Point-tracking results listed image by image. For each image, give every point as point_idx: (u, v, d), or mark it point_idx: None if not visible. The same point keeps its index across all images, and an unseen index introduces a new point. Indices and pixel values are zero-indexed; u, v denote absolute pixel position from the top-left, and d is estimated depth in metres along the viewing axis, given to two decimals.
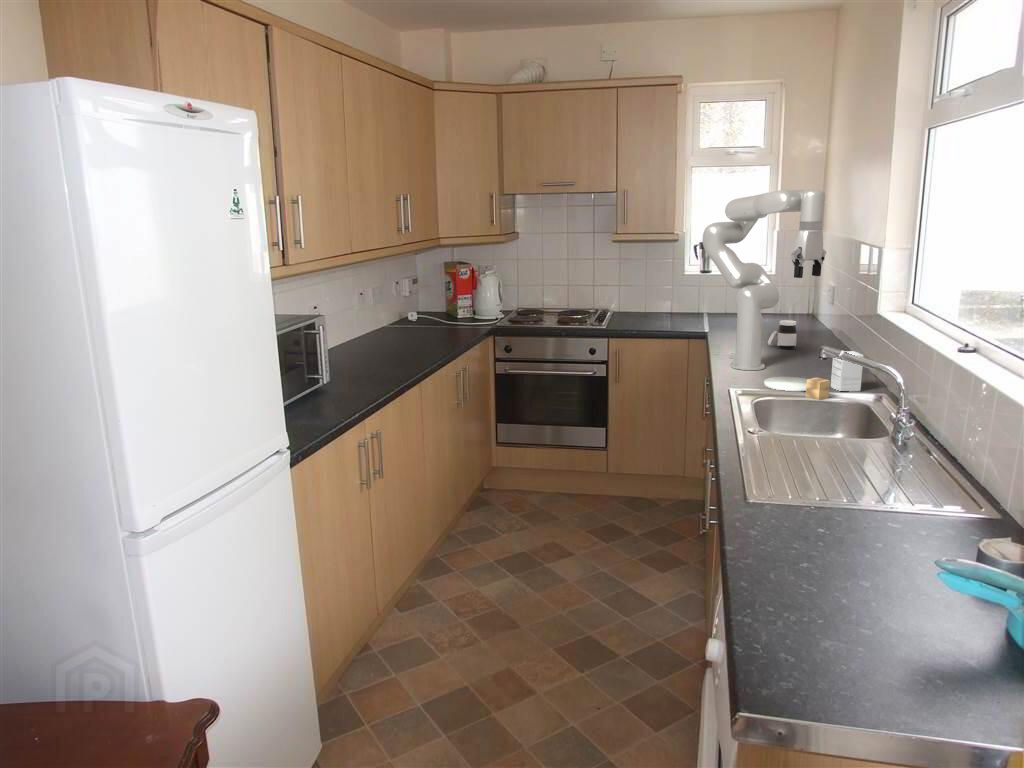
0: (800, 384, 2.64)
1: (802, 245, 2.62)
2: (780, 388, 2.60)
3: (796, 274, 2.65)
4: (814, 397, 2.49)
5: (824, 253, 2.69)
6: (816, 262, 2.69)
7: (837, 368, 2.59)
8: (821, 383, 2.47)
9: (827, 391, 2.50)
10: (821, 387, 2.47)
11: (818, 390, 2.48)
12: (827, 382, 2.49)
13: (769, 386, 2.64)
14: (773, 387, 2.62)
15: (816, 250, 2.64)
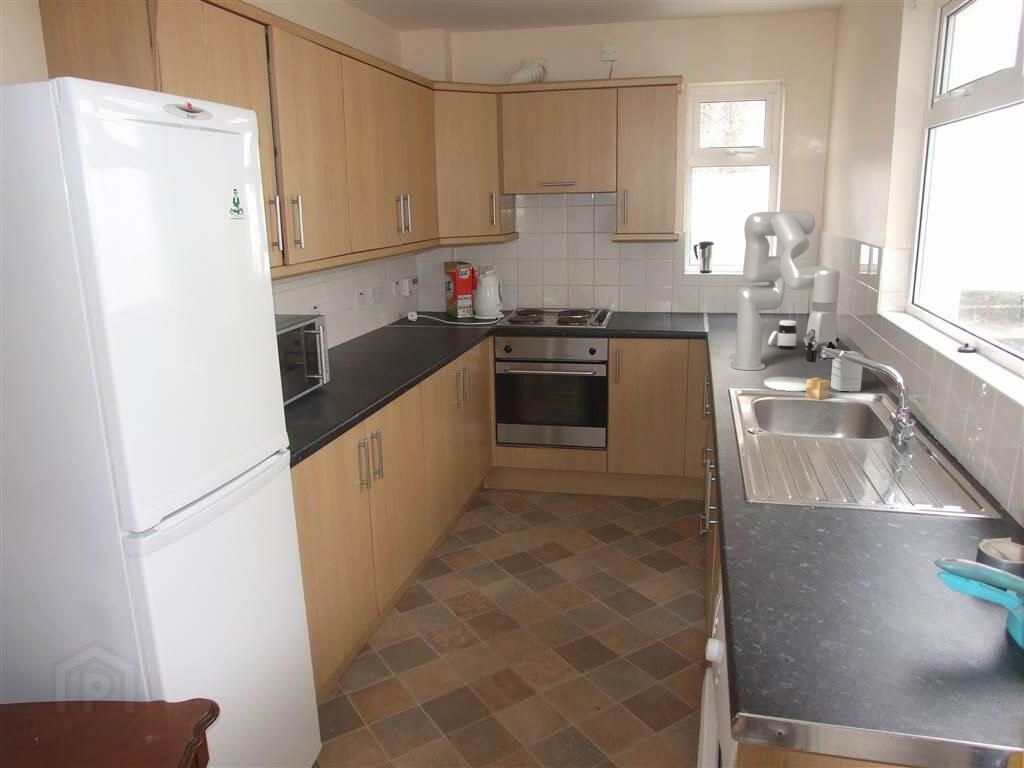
0: (800, 384, 2.64)
1: (815, 328, 2.42)
2: (780, 388, 2.60)
3: (809, 358, 2.45)
4: (814, 397, 2.49)
5: (839, 334, 2.50)
6: (830, 344, 2.50)
7: (837, 368, 2.59)
8: (821, 383, 2.47)
9: (827, 391, 2.50)
10: (821, 387, 2.47)
11: (818, 390, 2.48)
12: (827, 382, 2.49)
13: (769, 386, 2.64)
14: (773, 387, 2.62)
15: (830, 332, 2.44)
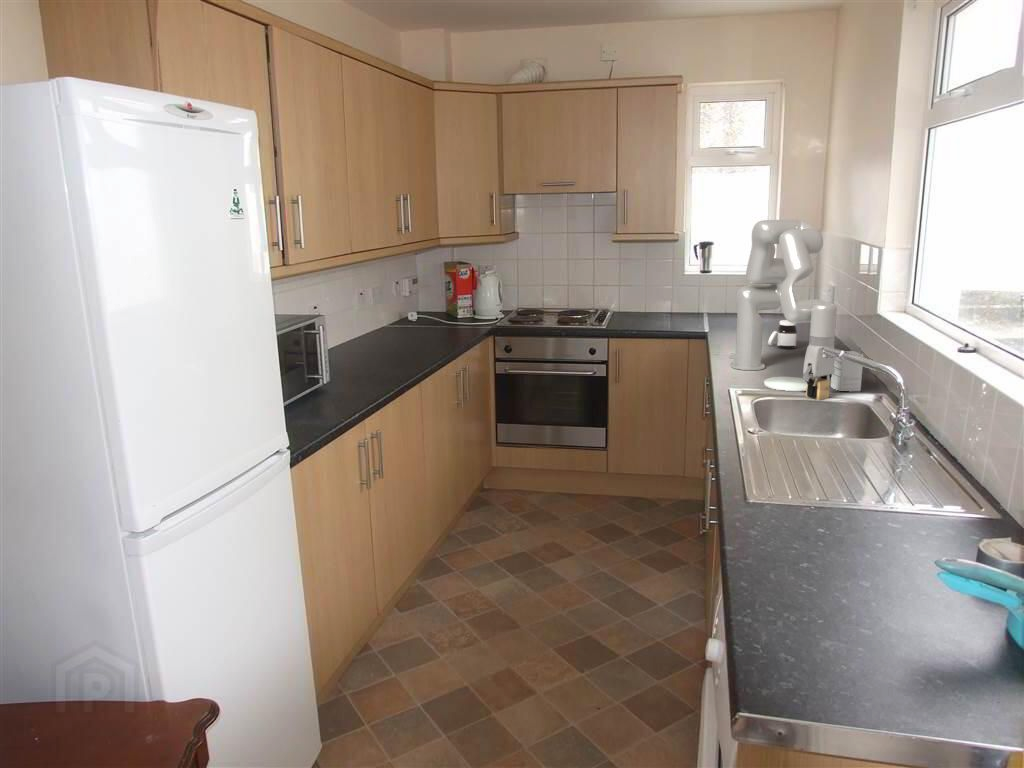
0: (800, 384, 2.64)
1: (812, 361, 2.45)
2: (780, 388, 2.60)
3: (810, 394, 2.49)
4: None
5: (832, 372, 2.52)
6: None
7: (837, 368, 2.59)
8: (821, 383, 2.47)
9: (827, 391, 2.50)
10: (821, 386, 2.47)
11: (818, 390, 2.47)
12: (827, 382, 2.49)
13: (769, 386, 2.64)
14: (773, 387, 2.62)
15: (827, 366, 2.47)
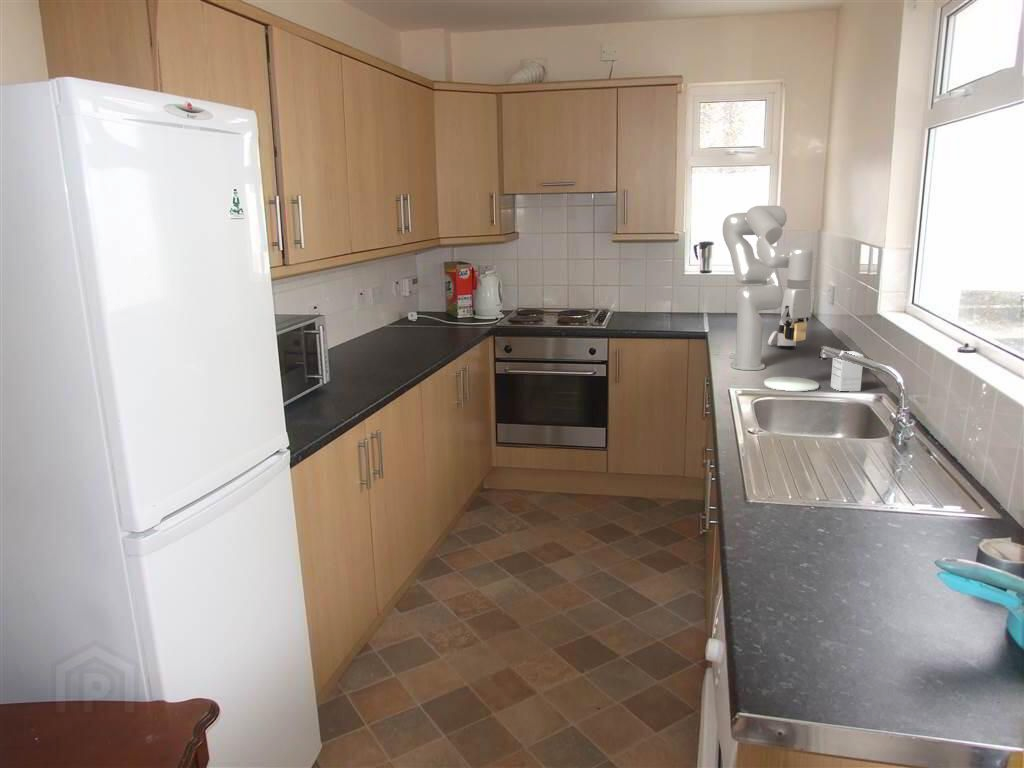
0: (800, 384, 2.64)
1: (789, 304, 2.57)
2: (780, 388, 2.60)
3: (787, 335, 2.61)
4: None
5: (809, 315, 2.64)
6: None
7: (837, 368, 2.59)
8: (798, 325, 2.59)
9: (804, 333, 2.61)
10: (798, 328, 2.59)
11: (795, 331, 2.59)
12: (804, 324, 2.60)
13: (769, 386, 2.64)
14: (773, 387, 2.62)
15: (804, 308, 2.59)
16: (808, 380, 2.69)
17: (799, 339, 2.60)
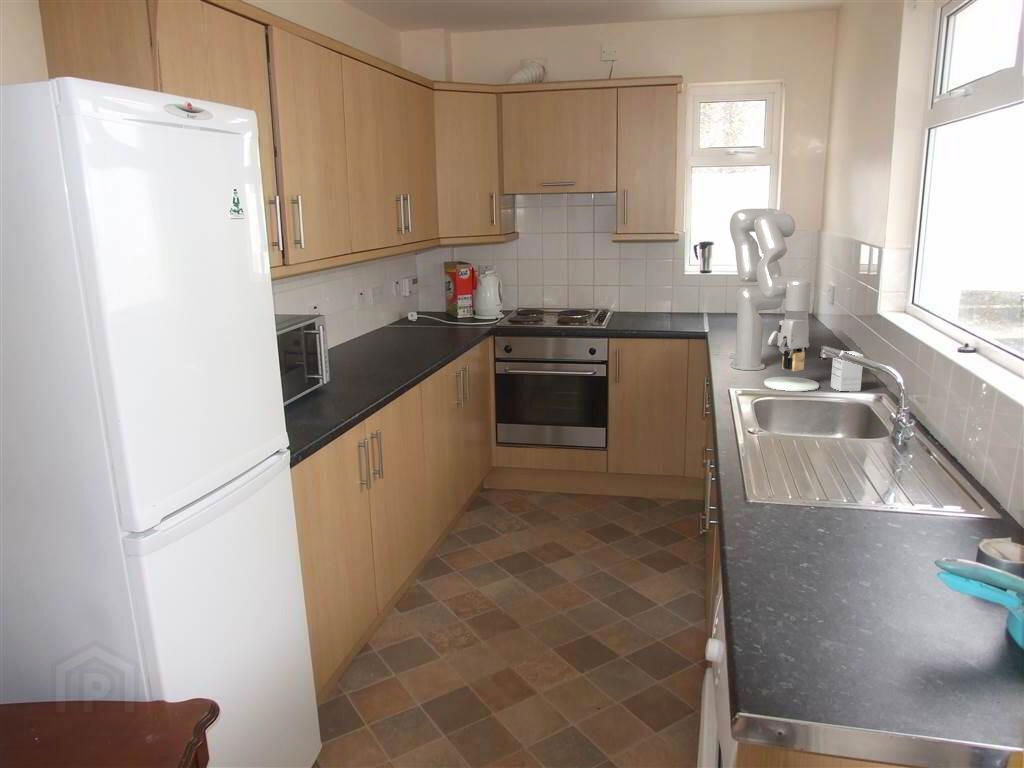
0: (800, 384, 2.64)
1: (787, 334, 2.59)
2: (780, 388, 2.60)
3: (785, 365, 2.63)
4: None
5: (807, 345, 2.66)
6: None
7: (837, 368, 2.59)
8: (796, 355, 2.61)
9: (802, 363, 2.63)
10: (796, 358, 2.61)
11: (793, 361, 2.61)
12: (802, 354, 2.62)
13: (769, 386, 2.64)
14: (773, 387, 2.62)
15: (802, 339, 2.61)
16: (808, 380, 2.69)
17: (797, 369, 2.62)
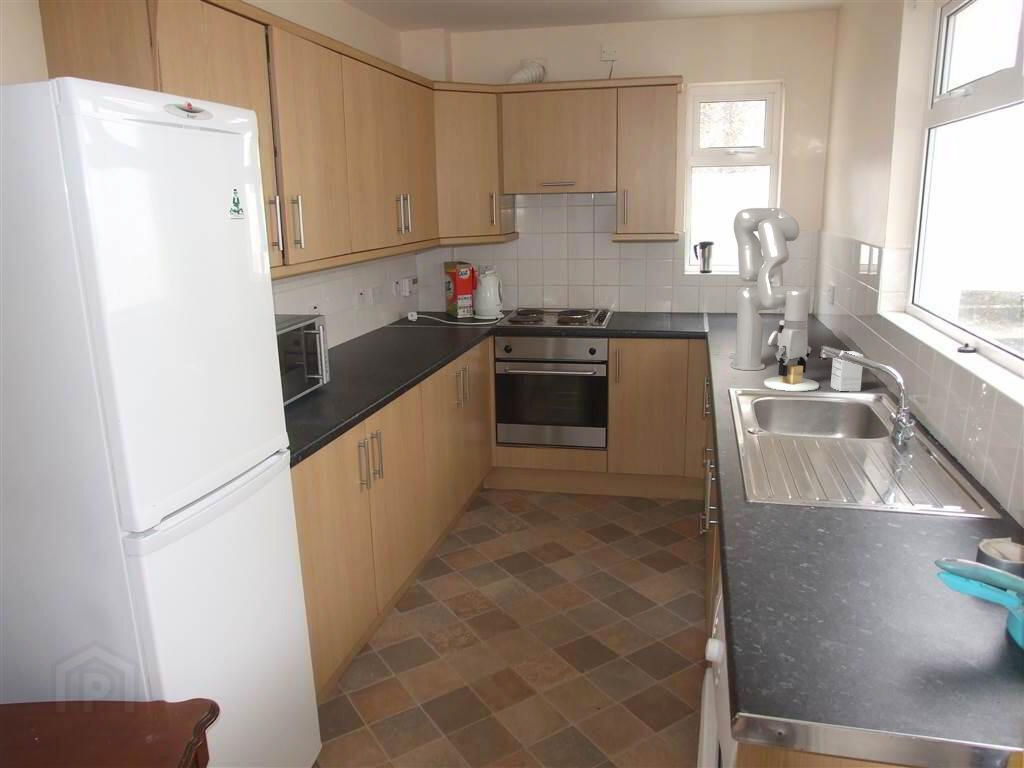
0: (800, 384, 2.64)
1: (786, 344, 2.60)
2: (780, 388, 2.60)
3: (780, 372, 2.62)
4: (788, 382, 2.64)
5: (809, 349, 2.67)
6: (801, 358, 2.67)
7: (837, 368, 2.59)
8: (795, 369, 2.62)
9: (801, 376, 2.65)
10: (794, 372, 2.62)
11: (792, 375, 2.63)
12: (801, 367, 2.64)
13: (769, 386, 2.64)
14: (773, 387, 2.62)
15: (801, 348, 2.62)
16: (808, 380, 2.69)
17: (796, 383, 2.64)
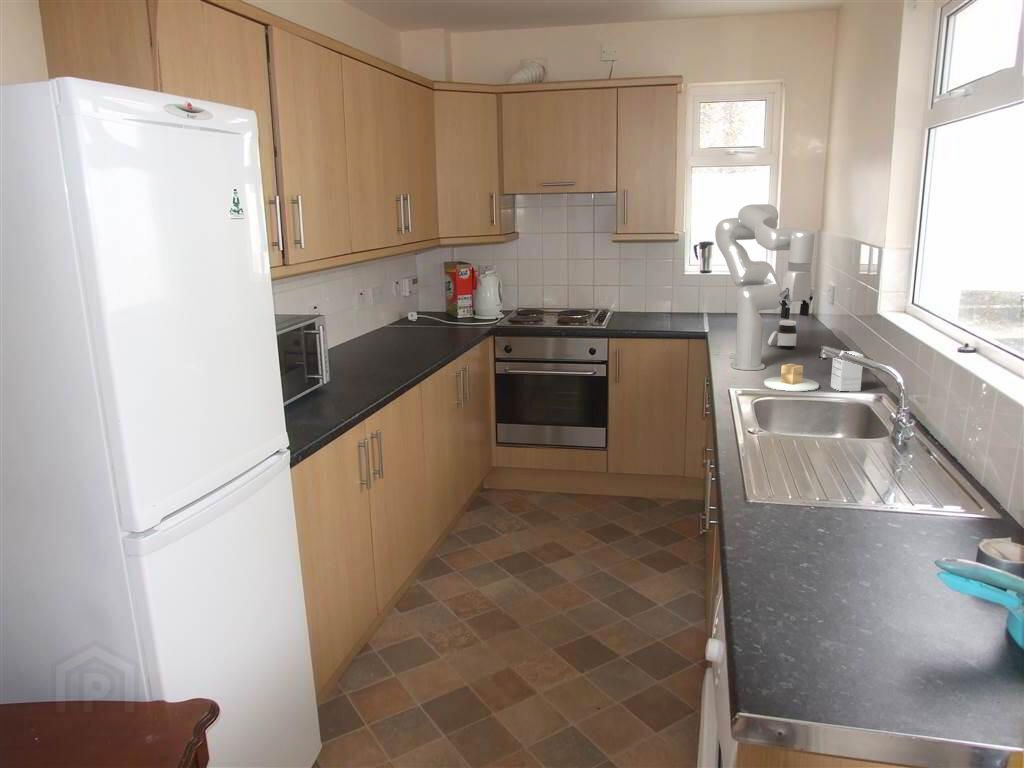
0: (800, 384, 2.64)
1: (789, 286, 2.59)
2: (780, 388, 2.60)
3: (783, 315, 2.62)
4: (788, 382, 2.64)
5: (812, 293, 2.66)
6: (804, 302, 2.67)
7: (837, 368, 2.59)
8: (795, 369, 2.62)
9: (801, 376, 2.65)
10: (794, 372, 2.62)
11: (792, 375, 2.63)
12: (801, 367, 2.64)
13: (769, 386, 2.64)
14: (773, 387, 2.62)
15: (804, 291, 2.61)
16: (808, 380, 2.69)
17: (796, 383, 2.64)
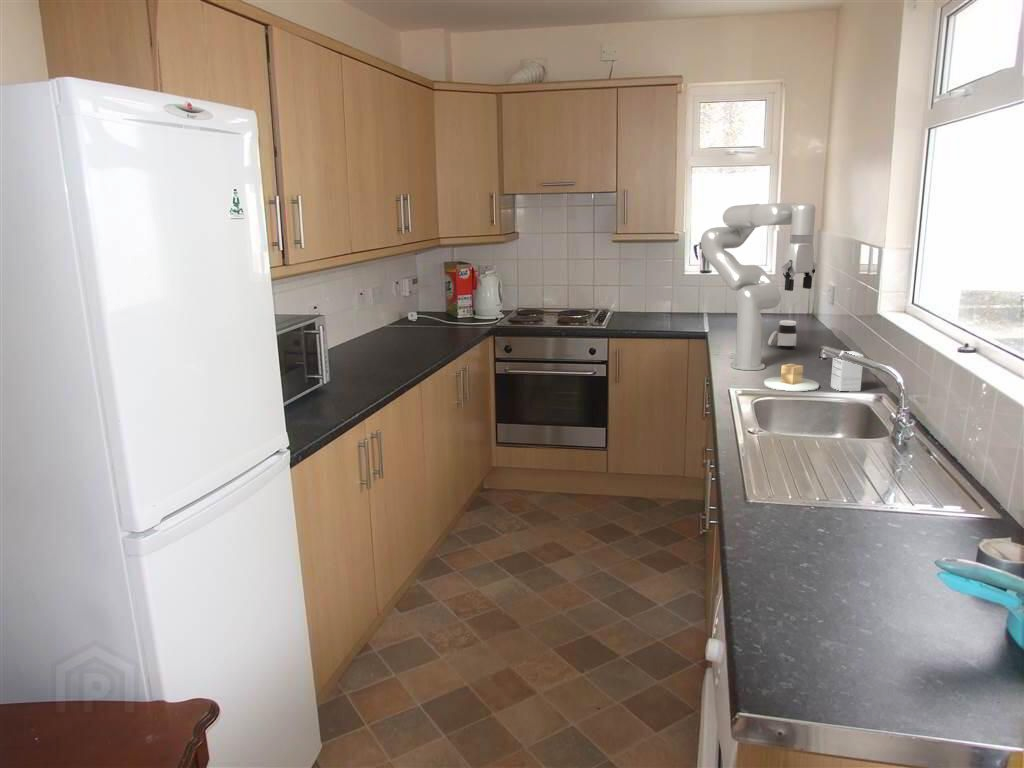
0: (800, 384, 2.64)
1: (793, 258, 2.64)
2: (780, 388, 2.60)
3: (787, 287, 2.66)
4: (788, 382, 2.64)
5: (815, 266, 2.71)
6: (807, 275, 2.71)
7: (837, 368, 2.59)
8: (795, 369, 2.62)
9: (801, 376, 2.65)
10: (794, 372, 2.62)
11: (792, 375, 2.63)
12: (801, 367, 2.64)
13: (769, 386, 2.64)
14: (773, 387, 2.62)
15: (807, 263, 2.66)
16: (808, 380, 2.69)
17: (796, 383, 2.64)
